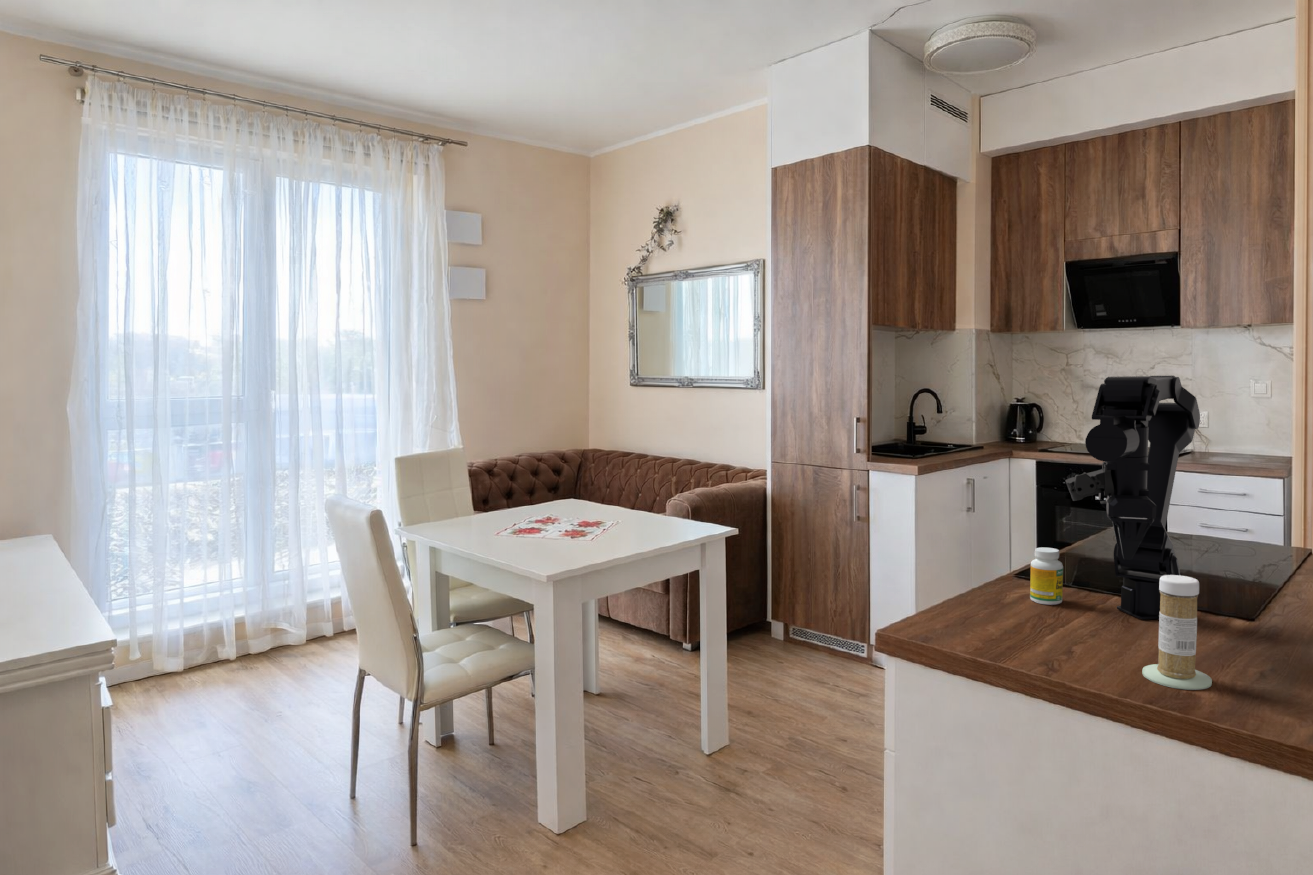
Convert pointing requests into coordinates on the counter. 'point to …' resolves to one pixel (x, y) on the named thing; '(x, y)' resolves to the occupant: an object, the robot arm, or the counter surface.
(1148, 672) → the mat
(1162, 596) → the sprinkles bottle
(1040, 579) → the supplement bottle
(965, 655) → the counter surface
